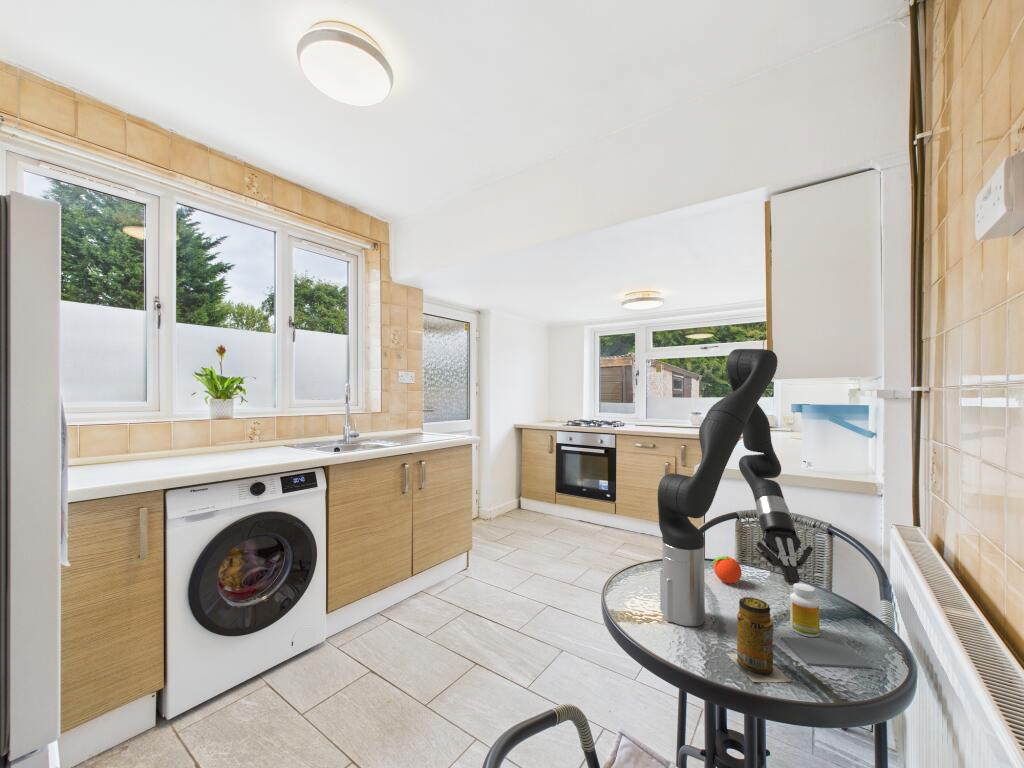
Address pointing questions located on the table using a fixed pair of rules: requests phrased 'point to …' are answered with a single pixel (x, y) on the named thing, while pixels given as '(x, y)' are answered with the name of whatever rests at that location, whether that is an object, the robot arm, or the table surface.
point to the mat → (825, 652)
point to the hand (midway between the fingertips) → (793, 584)
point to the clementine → (727, 569)
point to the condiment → (756, 642)
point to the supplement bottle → (804, 611)
